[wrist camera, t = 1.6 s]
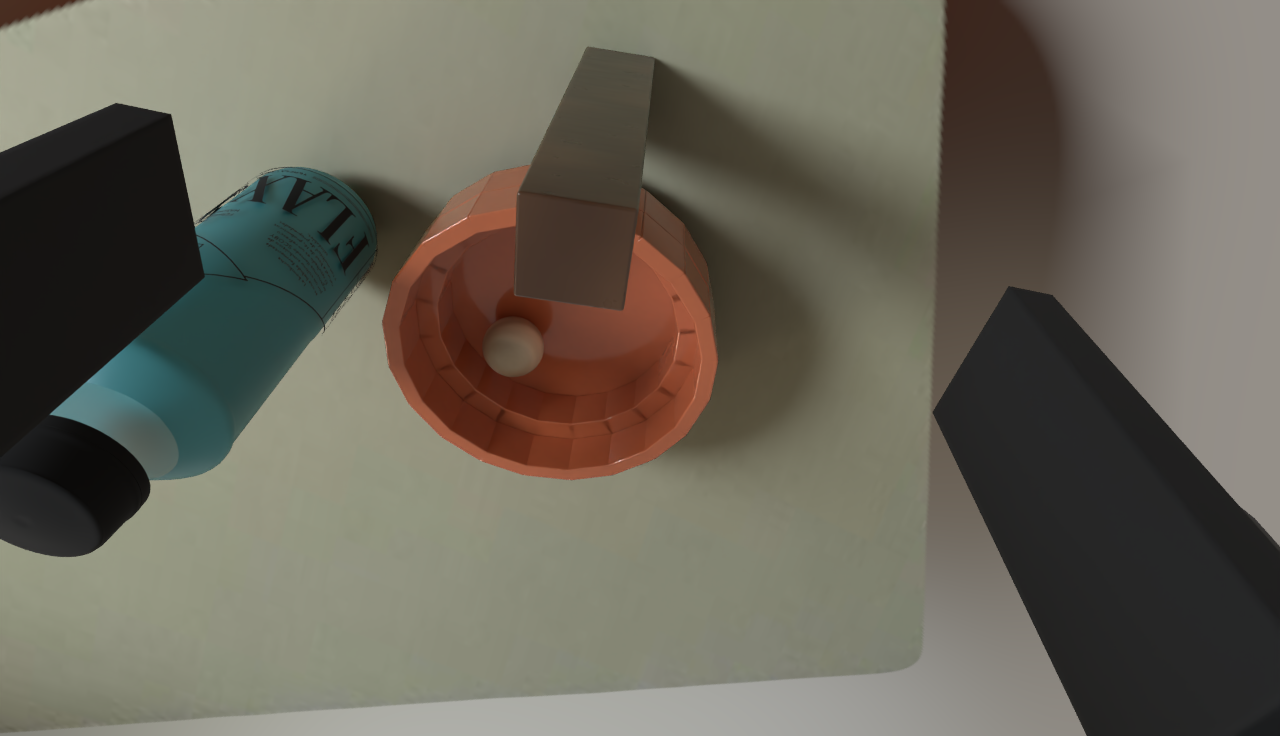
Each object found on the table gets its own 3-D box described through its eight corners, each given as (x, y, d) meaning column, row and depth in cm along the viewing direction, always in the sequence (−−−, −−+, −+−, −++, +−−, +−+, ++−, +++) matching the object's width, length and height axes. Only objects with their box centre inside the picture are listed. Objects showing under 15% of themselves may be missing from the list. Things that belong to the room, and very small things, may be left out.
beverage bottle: (418, 220, 34) (194, 533, 19) (343, 292, 37) (93, 618, 21) (308, 120, 32) (-69, 387, 16) (235, 205, 34) (-147, 506, 18)
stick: (580, 116, 31) (512, 296, 18) (586, 46, 29) (516, 191, 16) (645, 126, 31) (623, 312, 18) (655, 57, 29) (638, 210, 17)
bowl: (615, 94, 30) (603, 138, 26) (758, 345, 38) (770, 415, 33) (360, 246, 36) (311, 306, 31) (533, 440, 43) (515, 513, 39)
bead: (525, 295, 36) (514, 329, 33) (559, 339, 37) (550, 375, 35) (477, 319, 37) (462, 354, 34) (512, 361, 38) (501, 397, 36)
